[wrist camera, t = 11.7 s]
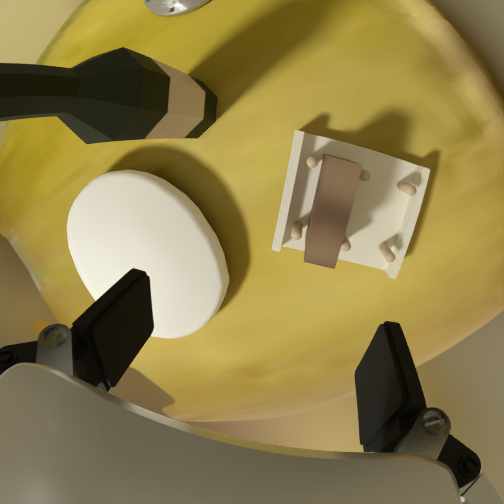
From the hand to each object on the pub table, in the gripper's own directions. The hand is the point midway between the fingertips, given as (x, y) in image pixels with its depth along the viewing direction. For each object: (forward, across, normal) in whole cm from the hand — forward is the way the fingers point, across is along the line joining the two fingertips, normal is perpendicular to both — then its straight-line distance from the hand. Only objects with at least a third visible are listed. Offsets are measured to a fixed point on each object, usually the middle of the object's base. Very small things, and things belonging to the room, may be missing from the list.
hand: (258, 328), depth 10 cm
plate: (+26, +20, +13) cm, 35 cm away
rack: (+25, -7, 0) cm, 26 cm away
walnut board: (+24, -4, -1) cm, 24 cm away
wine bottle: (+26, +15, -9) cm, 31 cm away
